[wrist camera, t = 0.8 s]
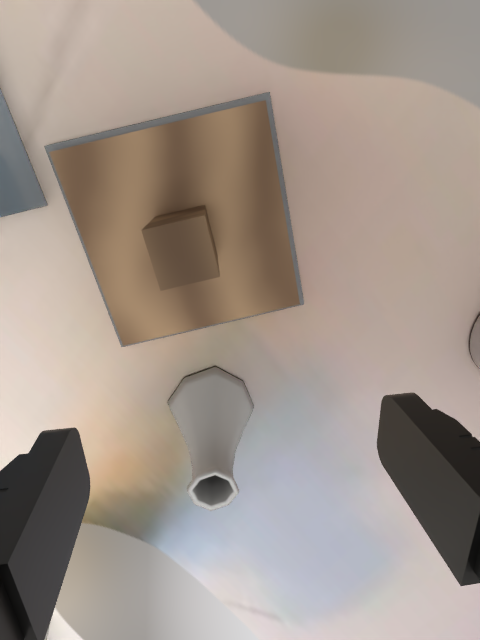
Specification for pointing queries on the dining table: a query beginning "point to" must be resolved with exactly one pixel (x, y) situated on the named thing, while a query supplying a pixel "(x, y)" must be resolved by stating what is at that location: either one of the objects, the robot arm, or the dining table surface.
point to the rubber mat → (173, 119)
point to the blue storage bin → (15, 170)
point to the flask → (211, 432)
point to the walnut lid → (183, 222)
